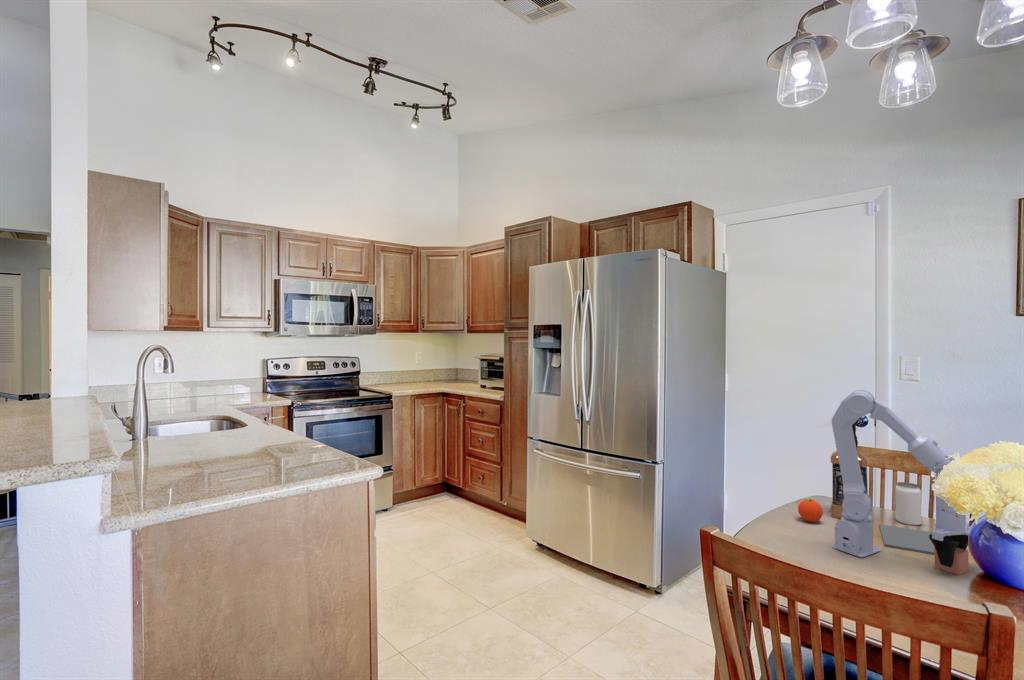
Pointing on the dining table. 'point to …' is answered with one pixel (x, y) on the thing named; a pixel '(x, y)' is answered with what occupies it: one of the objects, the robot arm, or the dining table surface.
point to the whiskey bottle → (838, 482)
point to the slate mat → (907, 539)
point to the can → (908, 503)
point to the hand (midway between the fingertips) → (951, 563)
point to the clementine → (810, 510)
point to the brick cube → (955, 562)
